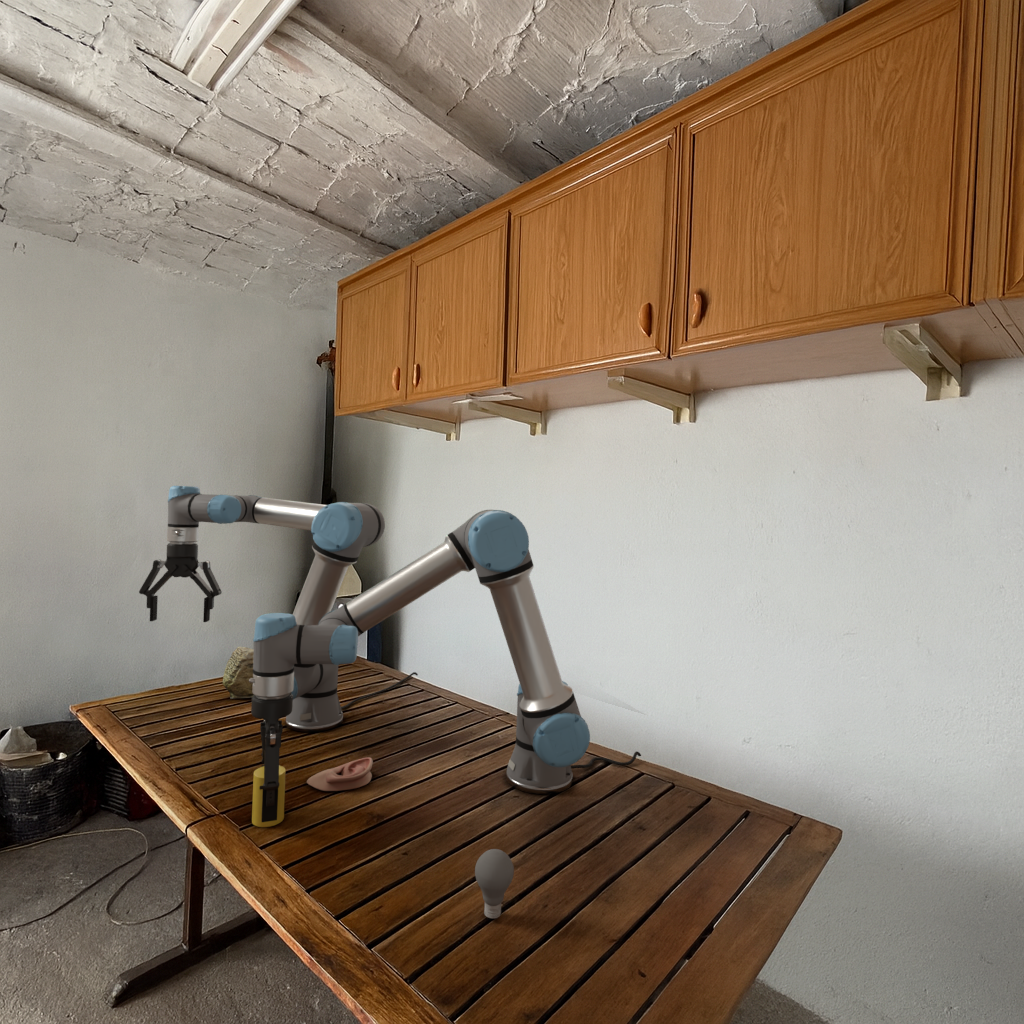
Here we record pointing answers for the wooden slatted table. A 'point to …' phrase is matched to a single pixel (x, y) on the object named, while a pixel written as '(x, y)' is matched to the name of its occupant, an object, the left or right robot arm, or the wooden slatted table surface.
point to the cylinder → (257, 798)
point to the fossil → (239, 673)
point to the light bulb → (494, 879)
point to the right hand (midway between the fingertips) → (268, 808)
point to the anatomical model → (343, 776)
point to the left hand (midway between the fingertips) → (180, 620)
